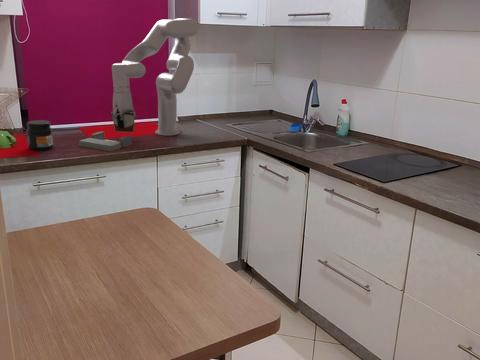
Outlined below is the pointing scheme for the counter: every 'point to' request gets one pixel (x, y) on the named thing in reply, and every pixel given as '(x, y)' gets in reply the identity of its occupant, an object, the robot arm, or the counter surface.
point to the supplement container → (39, 135)
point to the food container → (125, 122)
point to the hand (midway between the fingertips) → (125, 125)
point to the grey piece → (105, 142)
